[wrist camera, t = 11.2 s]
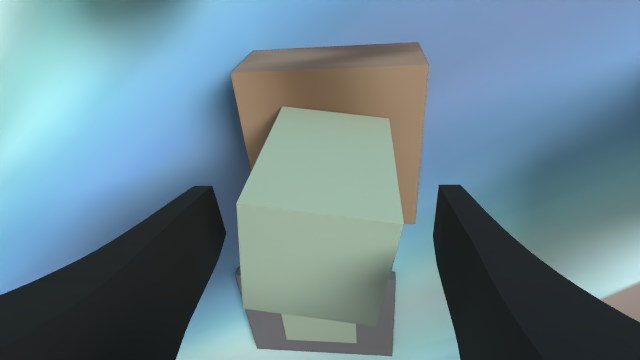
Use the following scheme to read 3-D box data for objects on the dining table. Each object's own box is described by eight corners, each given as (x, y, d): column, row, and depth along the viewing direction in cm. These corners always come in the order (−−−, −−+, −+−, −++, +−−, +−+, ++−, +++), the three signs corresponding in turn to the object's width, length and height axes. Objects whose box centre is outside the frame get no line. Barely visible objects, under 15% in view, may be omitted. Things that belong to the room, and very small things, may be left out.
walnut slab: (417, 40, 15) (429, 64, 12) (407, 180, 19) (415, 223, 16) (255, 48, 16) (230, 72, 13) (276, 180, 20) (261, 221, 17)
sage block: (389, 118, 14) (403, 224, 9) (372, 203, 16) (376, 326, 11) (282, 106, 14) (236, 203, 9) (280, 192, 16) (243, 308, 11)
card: (395, 271, 22) (395, 280, 22) (391, 348, 27) (392, 357, 26) (237, 267, 24) (234, 276, 23) (259, 341, 28) (256, 349, 28)
